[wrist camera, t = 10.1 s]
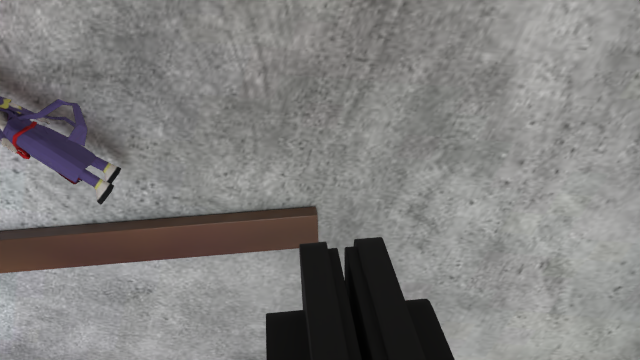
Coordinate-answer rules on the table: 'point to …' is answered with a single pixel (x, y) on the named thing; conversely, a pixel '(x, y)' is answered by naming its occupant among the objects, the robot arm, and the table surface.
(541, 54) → the table surface
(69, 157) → the figurine
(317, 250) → the robot arm
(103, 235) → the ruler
